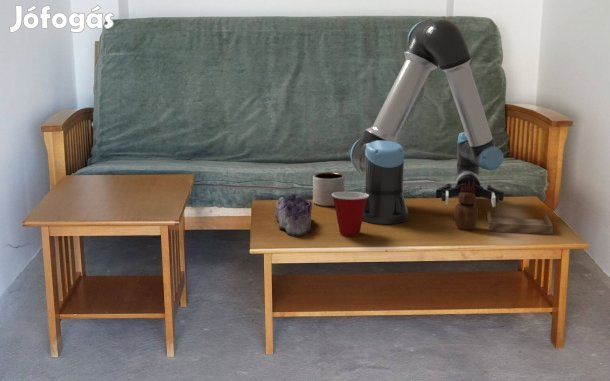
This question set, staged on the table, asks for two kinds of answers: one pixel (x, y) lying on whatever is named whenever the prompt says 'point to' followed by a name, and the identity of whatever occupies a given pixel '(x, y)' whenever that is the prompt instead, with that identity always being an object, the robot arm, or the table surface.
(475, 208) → the wooden figurine
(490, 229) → the tray
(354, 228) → the plastic cup
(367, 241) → the table surface
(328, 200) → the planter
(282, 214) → the geode
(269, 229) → the table surface
